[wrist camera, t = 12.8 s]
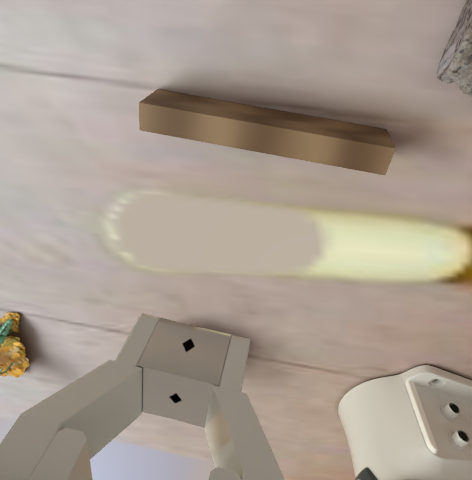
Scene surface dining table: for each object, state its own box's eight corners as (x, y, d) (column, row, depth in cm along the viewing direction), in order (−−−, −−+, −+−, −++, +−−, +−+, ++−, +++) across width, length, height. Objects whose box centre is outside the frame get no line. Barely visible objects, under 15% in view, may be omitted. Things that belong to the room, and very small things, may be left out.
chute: (483, -142, 21) (514, -165, 18) (377, 154, 31) (385, 175, 27) (159, -184, 22) (132, -212, 19) (157, 114, 32) (139, 130, 28)
